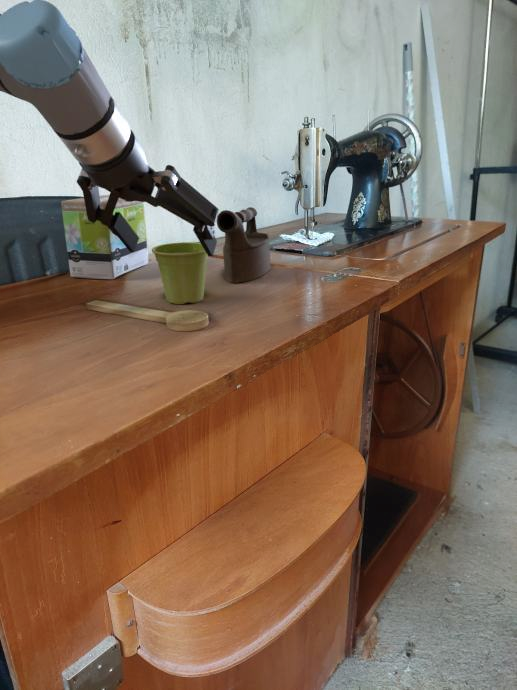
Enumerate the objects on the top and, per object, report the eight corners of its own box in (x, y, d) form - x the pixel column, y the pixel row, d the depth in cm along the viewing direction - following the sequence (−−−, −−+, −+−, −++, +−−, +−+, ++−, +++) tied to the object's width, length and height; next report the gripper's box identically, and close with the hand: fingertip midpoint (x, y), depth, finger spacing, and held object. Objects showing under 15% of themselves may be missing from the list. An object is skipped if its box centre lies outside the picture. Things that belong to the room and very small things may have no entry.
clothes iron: (206, 286, 93) (202, 210, 89) (235, 266, 108) (232, 200, 103) (248, 288, 91) (246, 210, 86) (272, 268, 106) (270, 200, 101)
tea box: (115, 280, 99) (105, 200, 94) (69, 278, 102) (57, 200, 96) (150, 263, 113) (143, 193, 107) (109, 262, 115) (100, 193, 110)
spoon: (77, 312, 80) (76, 305, 80) (105, 302, 85) (104, 295, 85) (192, 333, 70) (191, 325, 70) (216, 321, 75) (216, 313, 74)
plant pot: (223, 295, 88) (221, 243, 85) (195, 310, 80) (191, 255, 77) (177, 290, 91) (173, 240, 88) (145, 304, 84) (139, 251, 80)
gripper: (8, 169, 64) (96, 262, 83) (189, 168, 57) (242, 272, 75) (30, 123, 67) (111, 224, 86) (207, 117, 59) (253, 229, 78)
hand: (172, 246), depth 80 cm, fingers open, 13 cm apart
